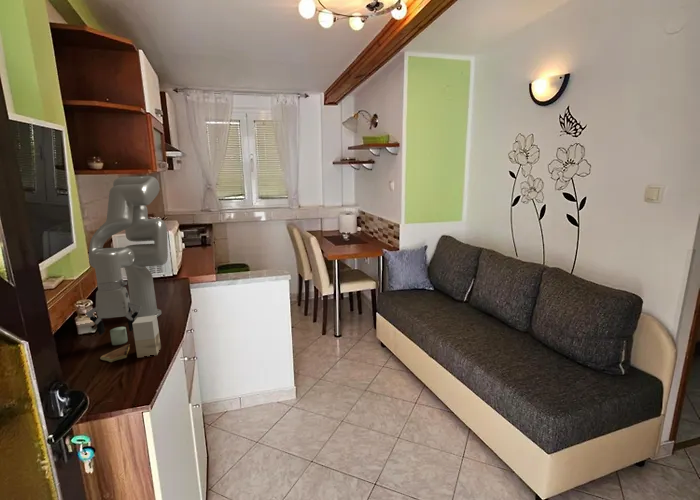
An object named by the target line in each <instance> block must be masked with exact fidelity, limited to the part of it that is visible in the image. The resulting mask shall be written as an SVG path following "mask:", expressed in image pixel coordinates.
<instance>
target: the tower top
mask: <svg viewBox="0 0 700 500" xmlns="http://www.w3.org/2000/svg"><path fill="white" fill-rule="evenodd" d="M132 325H133V330H132V331H133V338H134V342H135V341H138V340H146V339H154V338H155V337H156V336H157V334H158V332H159V333H160V330H159V322H158V317H157V315H154V316H145V317H137V319H136V320H135V321H134V322H133V323H132Z"/></svg>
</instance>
